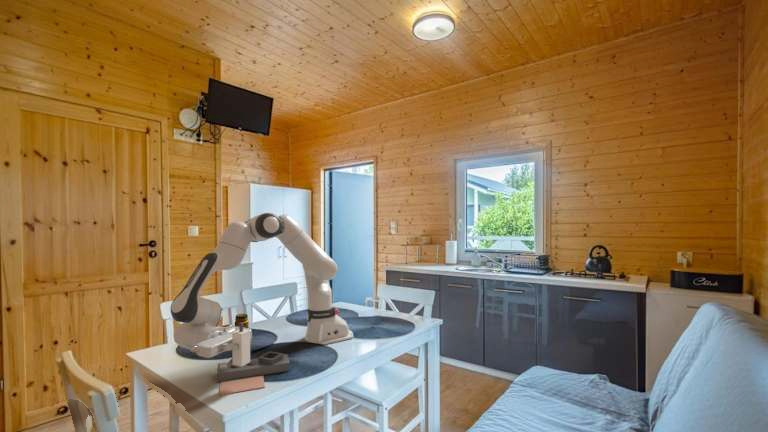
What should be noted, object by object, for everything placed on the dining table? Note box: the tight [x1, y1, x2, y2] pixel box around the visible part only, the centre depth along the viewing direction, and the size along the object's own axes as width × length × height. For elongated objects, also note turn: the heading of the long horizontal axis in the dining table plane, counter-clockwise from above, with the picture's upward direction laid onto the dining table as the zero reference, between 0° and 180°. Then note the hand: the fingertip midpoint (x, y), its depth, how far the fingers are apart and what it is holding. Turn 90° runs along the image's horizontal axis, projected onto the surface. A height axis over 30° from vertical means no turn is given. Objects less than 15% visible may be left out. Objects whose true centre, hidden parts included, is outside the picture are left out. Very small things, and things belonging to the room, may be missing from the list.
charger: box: [231, 323, 251, 367], centre depth 125 cm, size 4×4×14 cm
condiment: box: [234, 313, 250, 329], centre depth 168 cm, size 7×8×12 cm
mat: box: [218, 375, 266, 397], centre depth 125 cm, size 14×9×1 cm, turn 111°
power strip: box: [215, 350, 291, 383], centre depth 136 cm, size 25×9×5 cm, turn 111°
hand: (243, 344), depth 124 cm, fingers closed on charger, 4 cm apart
